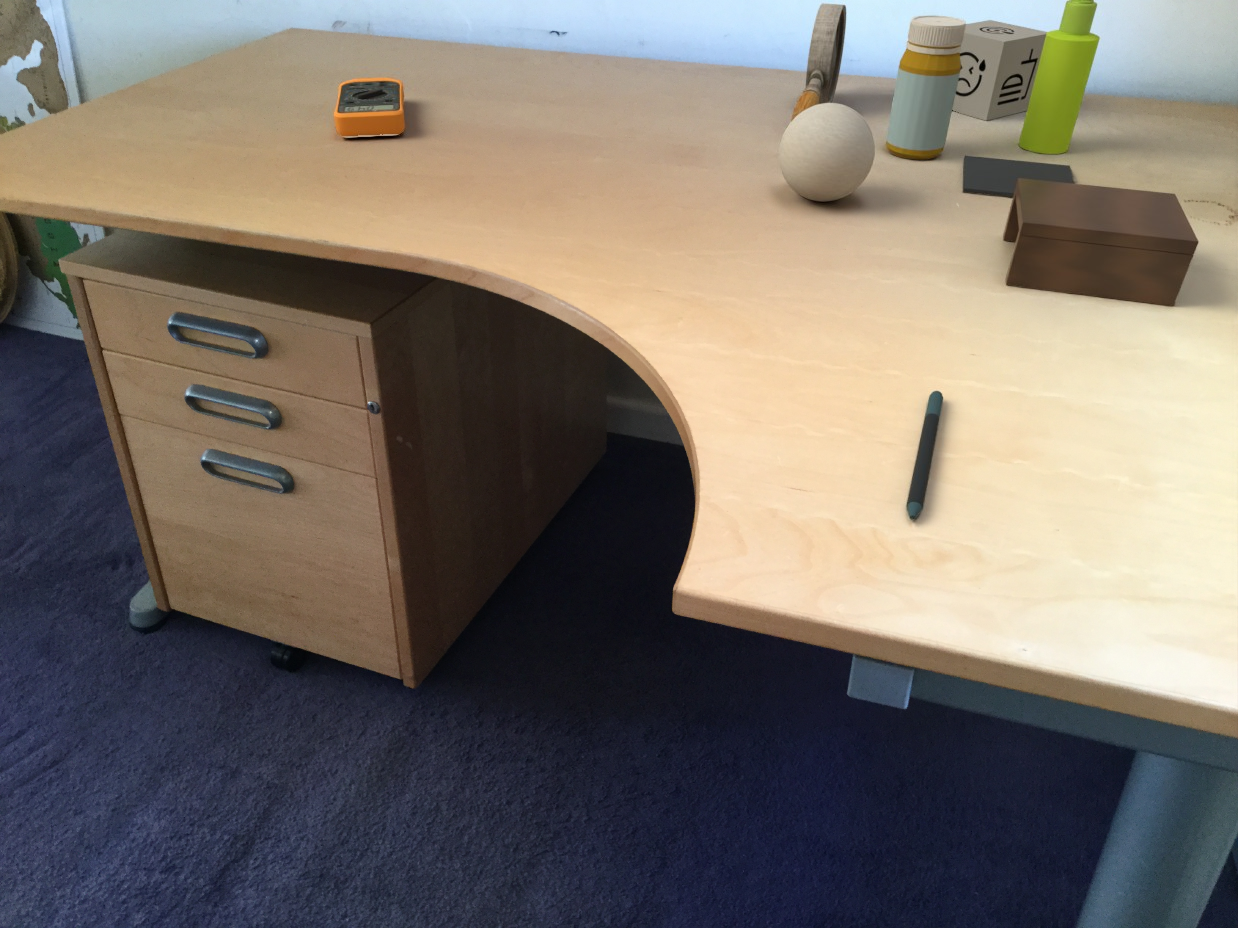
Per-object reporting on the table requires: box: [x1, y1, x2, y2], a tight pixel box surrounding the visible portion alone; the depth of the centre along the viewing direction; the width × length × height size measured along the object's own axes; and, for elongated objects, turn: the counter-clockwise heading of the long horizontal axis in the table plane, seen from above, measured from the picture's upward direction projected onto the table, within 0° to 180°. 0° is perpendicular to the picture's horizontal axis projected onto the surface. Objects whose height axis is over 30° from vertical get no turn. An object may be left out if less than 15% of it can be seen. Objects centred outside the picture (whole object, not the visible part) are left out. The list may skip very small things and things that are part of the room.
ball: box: [778, 102, 876, 202], centre depth 100 cm, size 10×10×10 cm
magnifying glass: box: [789, 3, 847, 124], centre depth 126 cm, size 13×3×25 cm
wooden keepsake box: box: [1002, 178, 1200, 307], centre depth 87 cm, size 14×12×6 cm
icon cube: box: [952, 19, 1048, 122], centre depth 130 cm, size 10×10×10 cm
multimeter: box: [333, 77, 406, 137], centre depth 125 cm, size 9×18×3 cm, turn 11°
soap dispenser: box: [1018, 0, 1101, 155], centre depth 112 cm, size 6×7×20 cm
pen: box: [906, 390, 944, 522], centre depth 63 cm, size 1×16×1 cm, turn 159°
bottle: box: [885, 14, 967, 161], centre depth 112 cm, size 7×7×15 cm
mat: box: [962, 154, 1075, 198], centre depth 108 cm, size 12×12×1 cm
